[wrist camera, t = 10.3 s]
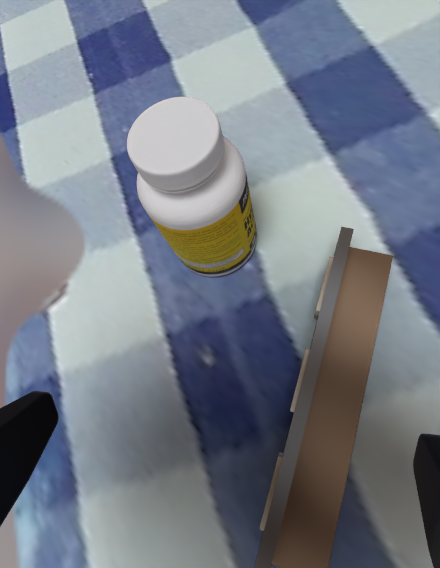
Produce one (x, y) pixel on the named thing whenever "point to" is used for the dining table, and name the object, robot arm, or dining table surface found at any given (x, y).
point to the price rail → (325, 412)
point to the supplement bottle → (193, 185)
